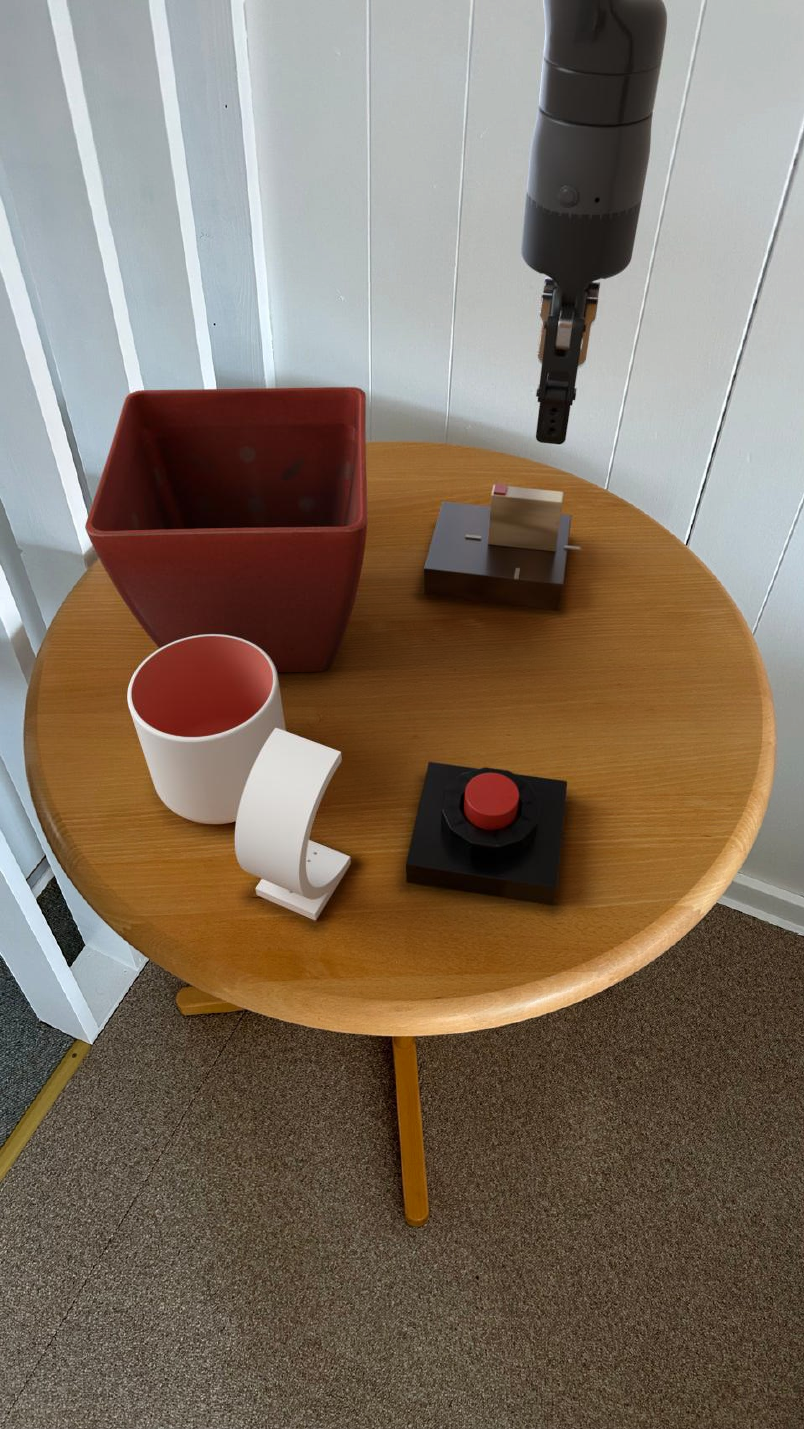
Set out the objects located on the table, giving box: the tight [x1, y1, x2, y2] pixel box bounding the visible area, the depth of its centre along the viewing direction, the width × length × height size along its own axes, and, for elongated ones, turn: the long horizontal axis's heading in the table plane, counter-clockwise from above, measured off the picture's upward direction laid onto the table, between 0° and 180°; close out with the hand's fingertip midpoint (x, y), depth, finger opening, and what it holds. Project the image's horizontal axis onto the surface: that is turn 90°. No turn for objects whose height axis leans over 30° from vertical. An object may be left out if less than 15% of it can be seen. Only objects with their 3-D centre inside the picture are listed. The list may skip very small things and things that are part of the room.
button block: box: [405, 761, 568, 906], centre depth 67 cm, size 10×9×4 cm
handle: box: [488, 483, 565, 552], centre depth 84 cm, size 6×2×5 cm, turn 79°
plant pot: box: [84, 386, 368, 673], centre depth 77 cm, size 19×19×17 cm
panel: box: [423, 501, 582, 611], centre depth 87 cm, size 13×10×3 cm
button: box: [464, 773, 519, 830], centre depth 65 cm, size 4×4×2 cm
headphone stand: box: [234, 728, 352, 922], centre depth 61 cm, size 5×6×12 cm
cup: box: [126, 634, 287, 825], centre depth 68 cm, size 10×10×10 cm
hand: (554, 411), depth 75 cm, fingers open, 8 cm apart
